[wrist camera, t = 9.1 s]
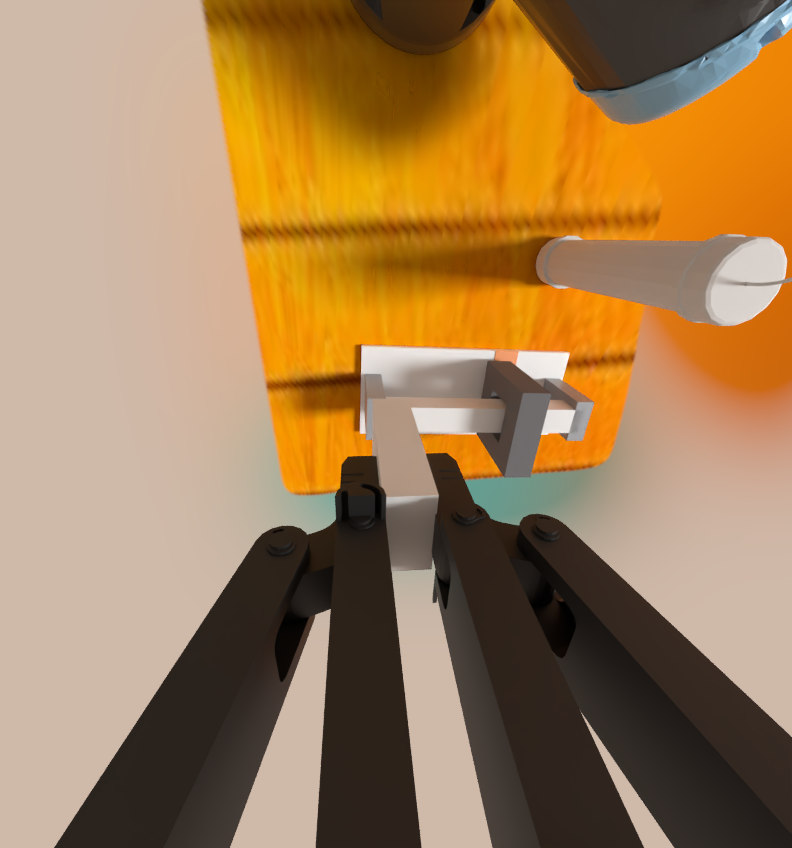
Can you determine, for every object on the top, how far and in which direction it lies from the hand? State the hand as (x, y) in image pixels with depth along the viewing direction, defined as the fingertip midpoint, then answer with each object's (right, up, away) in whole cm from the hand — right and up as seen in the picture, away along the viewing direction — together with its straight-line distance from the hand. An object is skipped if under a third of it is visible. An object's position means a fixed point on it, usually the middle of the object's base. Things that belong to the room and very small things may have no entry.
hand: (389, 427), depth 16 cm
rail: (+9, +4, +35) cm, 36 cm away
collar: (+13, +4, +33) cm, 36 cm away
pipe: (+19, +20, +28) cm, 40 cm away
